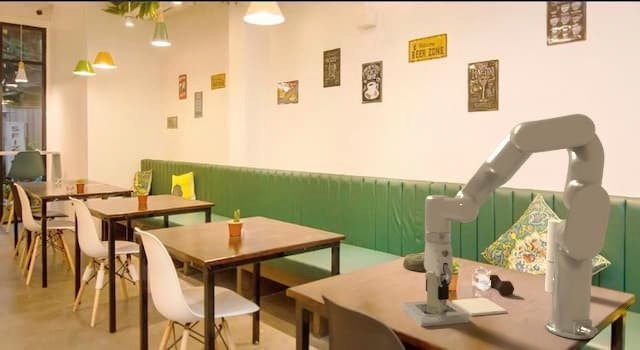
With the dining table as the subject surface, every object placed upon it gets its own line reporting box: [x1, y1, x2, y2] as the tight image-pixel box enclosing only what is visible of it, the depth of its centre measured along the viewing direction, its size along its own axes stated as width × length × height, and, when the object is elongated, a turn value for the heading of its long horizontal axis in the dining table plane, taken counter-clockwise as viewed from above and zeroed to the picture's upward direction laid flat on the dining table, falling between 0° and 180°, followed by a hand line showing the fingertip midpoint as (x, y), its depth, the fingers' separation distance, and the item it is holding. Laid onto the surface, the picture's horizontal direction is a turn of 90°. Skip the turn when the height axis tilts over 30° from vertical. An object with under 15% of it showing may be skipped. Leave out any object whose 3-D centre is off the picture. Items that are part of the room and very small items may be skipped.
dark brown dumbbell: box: [490, 274, 515, 297], centre depth 172 cm, size 6×5×15 cm
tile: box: [451, 297, 508, 317], centre depth 153 cm, size 12×12×1 cm
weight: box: [402, 253, 425, 272], centre depth 200 cm, size 14×13×5 cm
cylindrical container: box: [544, 218, 563, 294], centre depth 169 cm, size 7×7×25 cm
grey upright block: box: [426, 271, 447, 314], centre depth 145 cm, size 6×4×12 cm
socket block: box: [402, 299, 470, 327], centre depth 145 cm, size 13×15×2 cm
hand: (436, 294), depth 145 cm, fingers closed on grey upright block, 7 cm apart
